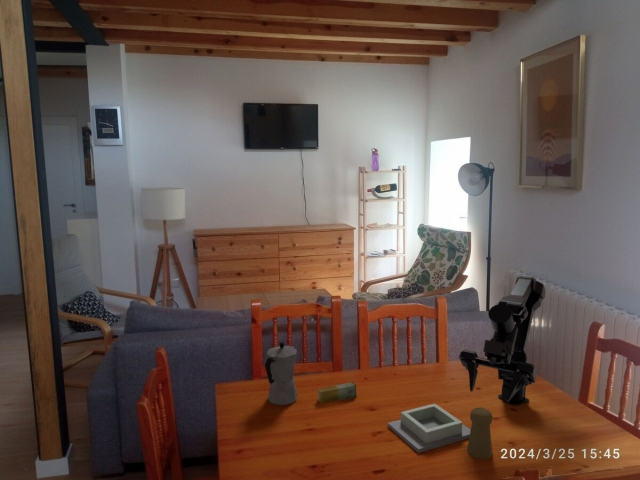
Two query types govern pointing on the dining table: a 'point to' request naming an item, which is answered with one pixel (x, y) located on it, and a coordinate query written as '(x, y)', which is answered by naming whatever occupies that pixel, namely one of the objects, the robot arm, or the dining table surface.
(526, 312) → the robot arm
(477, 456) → the cork
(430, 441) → the socket stand
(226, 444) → the dining table surface
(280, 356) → the coffeepot
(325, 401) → the medication box
